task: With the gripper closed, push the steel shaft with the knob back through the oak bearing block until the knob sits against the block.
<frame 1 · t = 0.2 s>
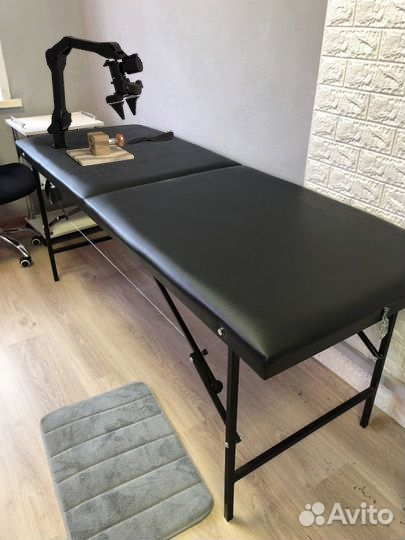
hand: (129, 117, 180), 15 cm above the table, tool pointing down, fingers open, 9 cm apart
hairbrush: (150, 141, 210), on the table
bearing block: (99, 156, 185), on the table
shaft: (107, 141, 184), point 6 cm above the table, slide at 5.0 cm
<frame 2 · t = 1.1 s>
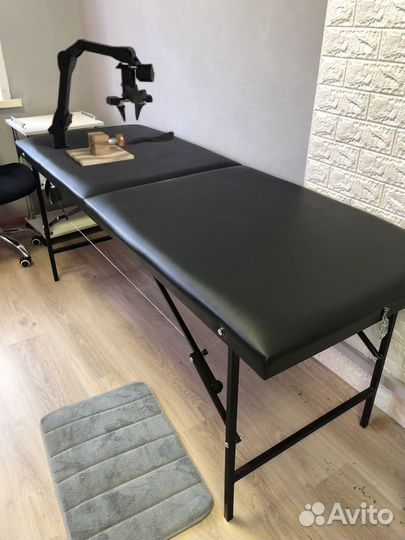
hand: (130, 120, 186), 13 cm above the table, tool pointing down, fingers open, 5 cm apart
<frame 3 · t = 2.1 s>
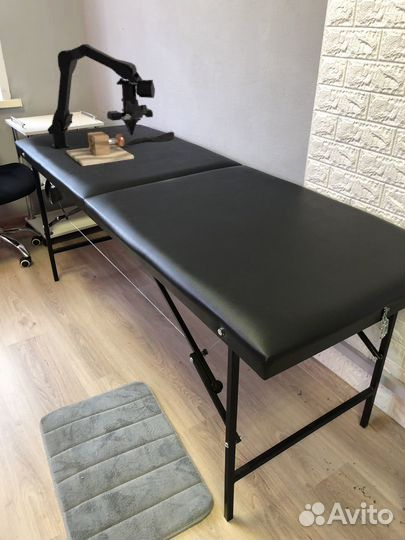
hand: (131, 135, 189), 7 cm above the table, tool pointing down, fingers closed
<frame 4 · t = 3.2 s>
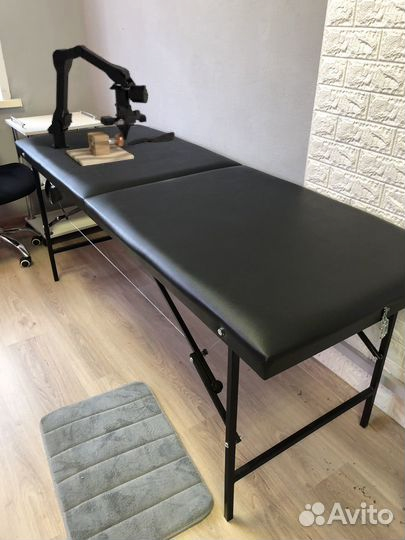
hand: (124, 139, 188), 5 cm above the table, tool pointing down, fingers closed
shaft: (107, 141, 184), point 6 cm above the table, slide at 4.7 cm, touching gripper
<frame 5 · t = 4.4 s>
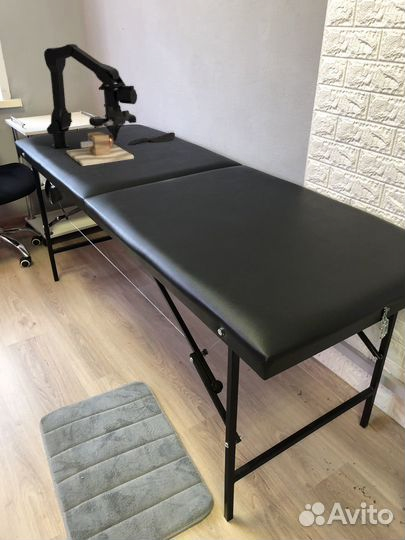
hand: (114, 140, 186), 5 cm above the table, tool pointing down, fingers closed
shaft: (96, 143, 182), point 6 cm above the table, slide at 0.0 cm, touching gripper
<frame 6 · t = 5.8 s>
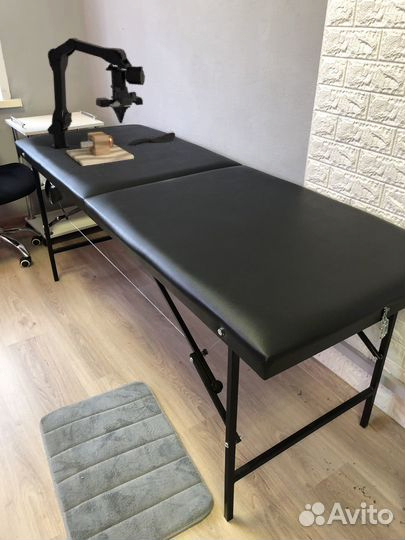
hand: (120, 122, 186), 12 cm above the table, tool pointing down, fingers closed
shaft: (96, 143, 182), point 5 cm above the table, slide at 0.0 cm
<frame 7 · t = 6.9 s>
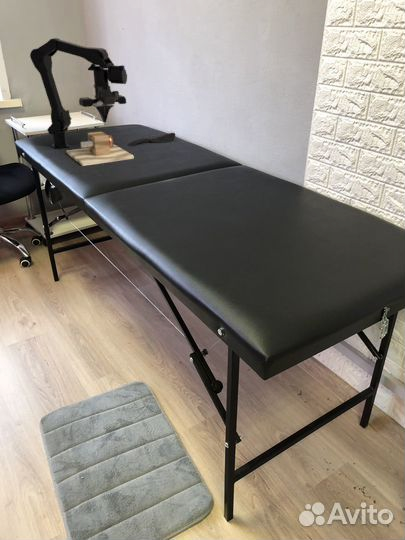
hand: (104, 122, 187), 12 cm above the table, tool pointing down, fingers closed
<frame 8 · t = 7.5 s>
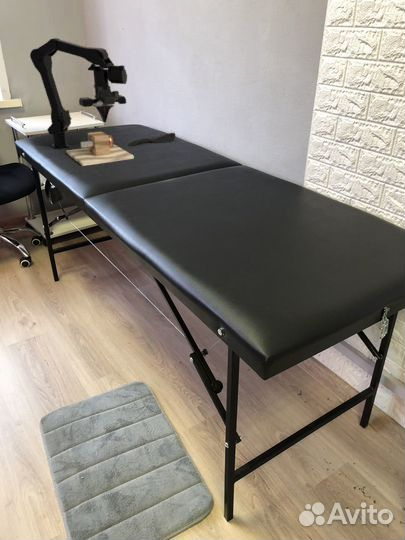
hand: (104, 122, 187), 12 cm above the table, tool pointing down, fingers closed
at the end: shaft slide at 0.0 cm; hairbrush moved 3.5 cm from its start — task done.
